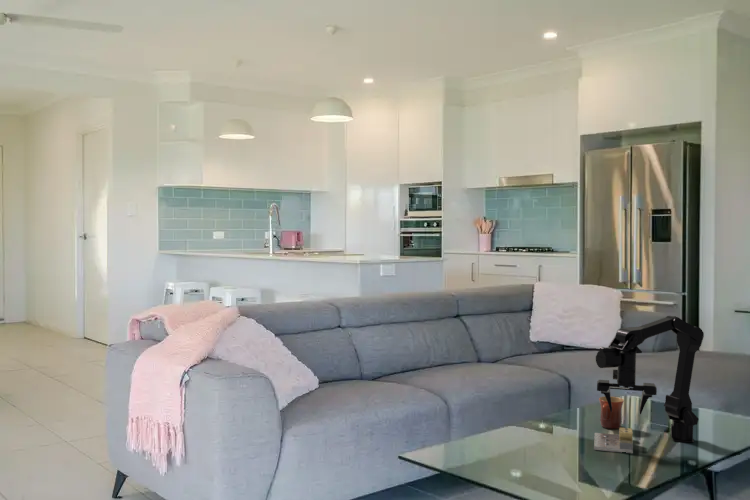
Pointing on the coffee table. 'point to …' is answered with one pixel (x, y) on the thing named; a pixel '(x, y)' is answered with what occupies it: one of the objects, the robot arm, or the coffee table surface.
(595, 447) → the steel hinge plate
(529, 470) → the coffee table surface
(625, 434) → the block
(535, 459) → the coffee table surface
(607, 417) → the mug
